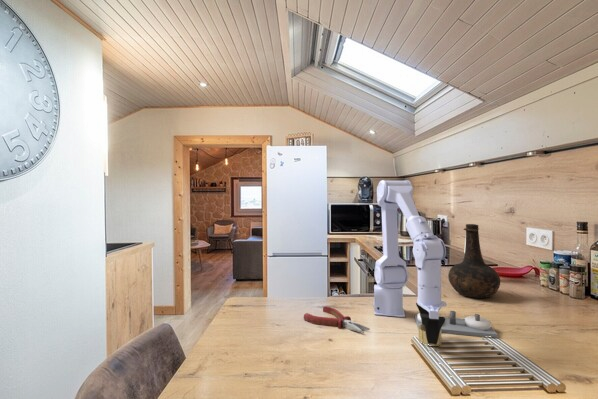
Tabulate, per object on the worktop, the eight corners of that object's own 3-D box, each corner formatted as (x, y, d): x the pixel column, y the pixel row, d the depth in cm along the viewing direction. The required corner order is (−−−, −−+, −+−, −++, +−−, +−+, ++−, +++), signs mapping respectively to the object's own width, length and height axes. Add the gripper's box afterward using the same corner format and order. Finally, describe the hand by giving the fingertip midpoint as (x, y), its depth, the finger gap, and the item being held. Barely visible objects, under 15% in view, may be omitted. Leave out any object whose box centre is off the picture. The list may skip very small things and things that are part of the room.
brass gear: (420, 345, 77) (419, 331, 77) (417, 336, 82) (417, 323, 82) (443, 348, 76) (442, 333, 76) (439, 338, 81) (438, 325, 81)
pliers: (355, 341, 81) (355, 332, 81) (301, 321, 95) (301, 313, 95) (377, 329, 89) (377, 320, 89) (325, 312, 103) (325, 304, 103)
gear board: (418, 330, 86) (418, 314, 86) (414, 317, 96) (414, 303, 96) (497, 338, 81) (497, 321, 81) (485, 323, 91) (485, 308, 91)
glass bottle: (496, 291, 124) (495, 223, 124) (504, 305, 108) (503, 226, 108) (448, 286, 131) (447, 222, 132) (448, 298, 115) (448, 225, 116)
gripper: (452, 293, 71) (452, 351, 71) (440, 278, 85) (441, 327, 85) (420, 291, 73) (420, 348, 73) (413, 277, 87) (414, 324, 87)
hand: (429, 336), depth 79 cm, fingers open, 7 cm apart
